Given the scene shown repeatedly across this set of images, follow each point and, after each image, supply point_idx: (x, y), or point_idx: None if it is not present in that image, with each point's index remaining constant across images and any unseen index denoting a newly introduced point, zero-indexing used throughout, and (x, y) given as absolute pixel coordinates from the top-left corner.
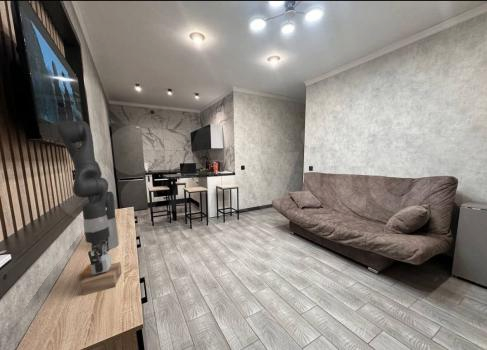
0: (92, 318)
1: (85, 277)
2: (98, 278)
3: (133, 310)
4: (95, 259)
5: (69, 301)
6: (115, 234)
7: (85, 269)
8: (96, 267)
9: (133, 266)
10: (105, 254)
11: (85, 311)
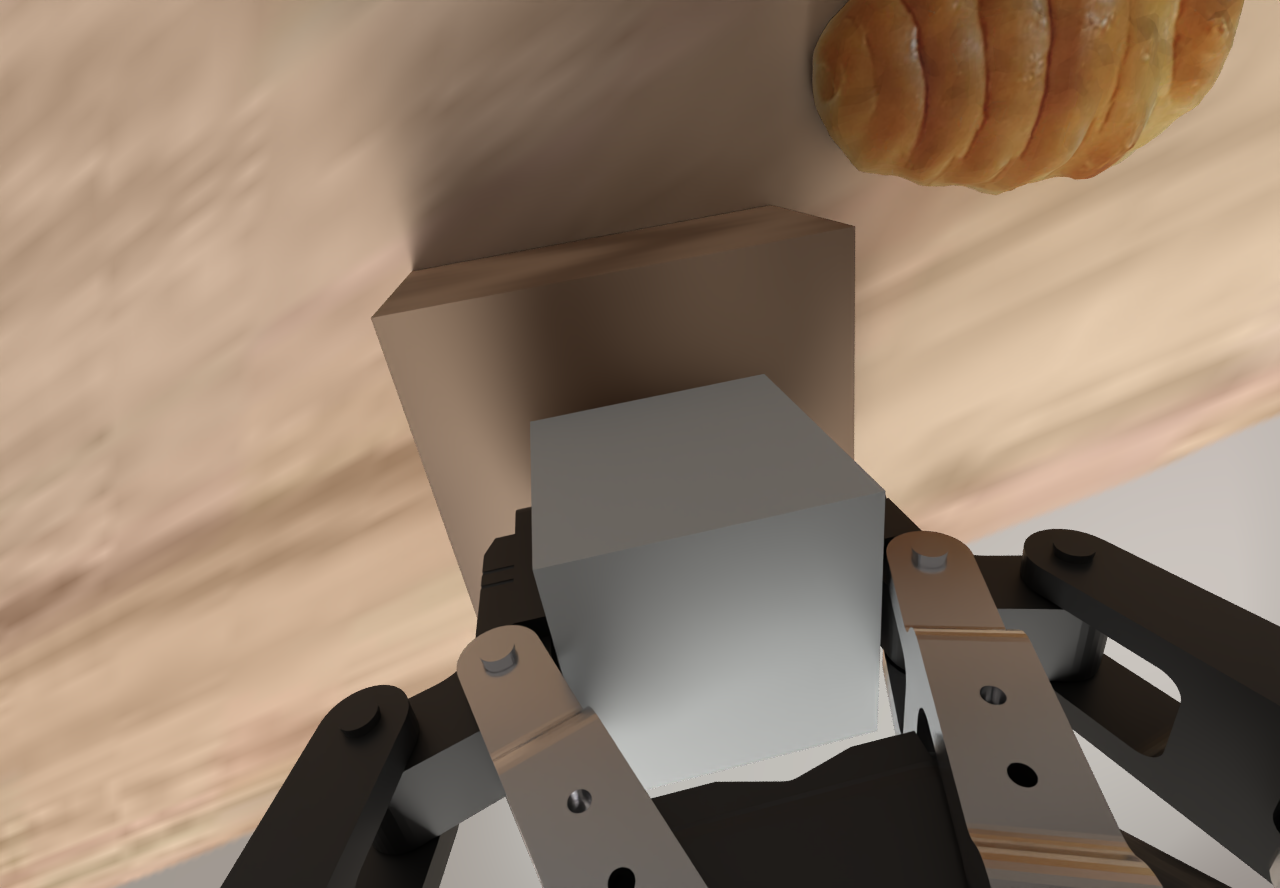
0: (15, 609)
1: (830, 57)
2: (452, 530)
3: (133, 853)
4: (541, 719)
5: (307, 139)
6: None
7: None
8: (483, 615)
9: None
10: (875, 664)
11: (111, 482)
